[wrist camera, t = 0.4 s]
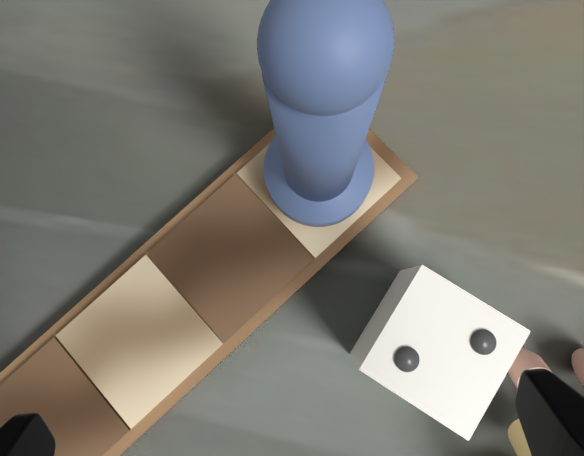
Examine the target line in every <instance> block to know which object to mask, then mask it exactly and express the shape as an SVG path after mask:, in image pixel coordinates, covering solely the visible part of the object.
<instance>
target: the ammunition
mask: <svg viewBox="0 0 584 456" xmlns="http://www.w3.org/2000/svg"><path fill="white" fill-rule="evenodd" d="M571 361H572V366H573V369H574V372H575V374H576V376H577V378H578V379H579V381H580V382H581V384H582V385H583V386H584V349H583V348H580V349H577V350H575V351H574V352H573V354H572V358H571ZM540 368H543V369H547V370H549V371H551V370H550V369H549V367H548V366H547V365H546V364H545V362H544V361H543V360H542V358H541V357H540V356H539V355H537V354H535V353H533V352H531V351H529V350H527V349H525V348H523V347H522V348H521V350H520V351H519V353H518V355H517V357H516V359H515V360H514V362H513V364H512V366H511V367H510V369H509V371H508V374H509V376H510V377H511V379H512V381H513V382H514V384H515V386H516V387H518V383H519V379H520V375H521V373H522V372H523V371H524V370H528V369H540ZM551 372H552V371H551ZM508 438H509V440H510V442H511V444H512V446H513V449H514V451H515V453H516V455H517V456H532V455H531V452H530V450H529V447H528V444H527V441H526V438H525V435H524V432H523V429H522V426H521V423H520V420H519V419H517V420H515V421H514V422H513V423H512V424H511V425H510V427H509V429H508Z"/></svg>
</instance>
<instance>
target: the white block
mask: <svg viewBox="0 0 584 456" xmlns="http://www.w3.org/2000/svg"><path fill="white" fill-rule="evenodd" d="M530 332H531V331H530V330H528V329H527V328H525V327H523V326H522V325H520V324H518V323H517V322H515V321H514V320H512V319H510V318H509V317H507V316H505V315H504V314H502V313H500V312H499V311H497V310H496V309H494V308H492V307H491V306H489V305H487V304H486V303H484V302H482V301H481V300H479V299H478V298H476V297H474V296H473V295H471V294H469V293H468V292H466V291H464V290H463V289H461V288H460V287H458V286H456V285H455V284H453V283H451V282H450V281H448V280H446V279H445V278H443V277H442V276H440V275H438V274H437V273H435V272H433V271H432V270H430V269H428V268H427V267H425V266H424V265H419V266H415V267H411V268H407V269H403V270H400V271H399V273H398V275H397V276H396V278H395V280H394V281H393V283H392V284H391V286H390V288H389V289H388V291H387V293H386V294H385V296H384V298H383V299H382V301H381V303H380V304H379V306H378V308H377V309H376V311H375V313H374V314H373V316H372V317H371V319H370V321H369V322H368V324H367V326H366V327H365V329H364V331H363V332H362V334H361V336H360V337H359V339H358V341H357V342H356V344H355V346H354V347H353V349H352V350H351V352H350V356H351V358H352V359H353V361H354V363H355V364H356V366H357V367H358V369H359V370H360V371H362V372H363V373H365V374H366V375H368V376H369V377H371V378H372V379H374V380H375V381H377V382H379V383H380V384H382V385H383V386H385V387H386V388H388V389H389V390H391V391H392V392H394V393H395V394H397V395H399V396H400V397H402V398H403V399H405V400H406V401H408V402H409V403H411V404H412V405H414V406H415V407H417V408H419V409H420V410H422V411H423V412H425V413H426V414H428V415H429V416H431V417H432V418H434V419H435V420H437V421H439V422H440V423H442V424H443V425H445V426H446V427H448V428H449V429H451V430H452V431H454V432H455V433H457V434H458V435H460V436H462V437H463V438H465V439H466V440H468V441H469V440H470V438H471V436H472V434H473V433H474V431H475V429H476V427H477V426H478V424H479V422H480V420H481V419H482V417H483V415H484V413H485V411H486V410H487V408H488V406H489V404H490V403H491V401H492V399H493V397H494V396H495V394H496V392H497V390H498V389H499V387H500V385H501V383H502V381H503V380H504V378H505V376H506V374H507V373H508V371H509V369H510V367H511V366H512V364H513V362H514V360H515V359H516V357H517V355H518V353H519V351H520V350H521V348H522V346H523V344H524V343H525V341H526V339H527V337H528V336H529V334H530Z"/></svg>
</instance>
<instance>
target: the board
mask: <svg viewBox="0 0 584 456" xmlns="http://www.w3.org/2000/svg"><path fill="white" fill-rule="evenodd" d="M275 135H276V134H275V130H274V128H273V129H272V130H271V131H269V132H268V133H267V134H266V135H265V136H264V137H263V138H262V139H261V140H259V141H258V142H257V143H256V144H255V145H254V146H253V147H252V148H250V149H249V150H248V151H247V152H246V153H245V154H244V155H243V156H242V157H240V158H239V159H238V160H237V161H236V162H235V163H234V164H233V165H232V166H230V167H229V168H228V169H227V170H226V171H225V172H224V173H223V174H221V175H220V176H219V177H218V178H217V179H216V180H215V181H214V182H213V183H211V184H210V185H209V186H208V187H207V188H206V189H205V190H204V191H202V192H201V193H200V194H199V195H198V196H197V197H196V198H195V199H194V200H192V201H191V202H190V203H189V204H188V205H187V206H186V207H185V208H184V209H182V210H181V211H180V212H179V213H178V214H177V215H176V216H175V217H173V218H172V219H171V220H170V221H169V222H168V223H167V224H166V225H165V226H163V227H162V228H161V229H160V230H159V231H158V232H157V233H156V234H154V235H153V236H152V237H151V238H150V239H149V240H148V241H147V242H146V243H144V244H143V245H142V246H141V247H140V248H139V249H138V250H137V251H136V252H134V253H133V254H132V255H131V256H130V257H129V258H128V259H127V260H125V261H124V262H123V263H122V264H121V265H120V266H119V267H118V268H117V269H115V270H114V271H113V272H112V273H111V274H110V275H109V276H108V277H106V278H105V279H104V280H103V281H102V282H101V283H100V284H99V285H98V286H96V287H95V288H94V289H93V290H92V291H91V292H90V293H89V294H88V295H86V296H85V297H84V298H83V299H82V300H81V301H80V302H79V303H77V304H76V305H75V306H74V307H73V308H72V309H71V310H70V311H69V312H67V313H66V314H65V315H64V316H63V317H62V318H61V319H60V320H59V321H57V322H56V323H55V324H54V325H53V326H52V327H51V328H50V329H48V330H47V331H46V332H45V333H44V334H43V335H42V336H41V337H40V338H38V339H37V340H36V341H35V342H34V343H33V344H32V345H31V346H29V347H28V348H27V349H26V350H25V351H24V352H23V353H22V354H21V355H19V356H18V357H17V358H16V359H15V360H14V361H13V362H12V363H11V364H9V365H8V366H7V367H6V368H5V369H4V370H3V371H2V372H0V428H1V427H2V426H3V425H4V424H5V423H6V422H7V421H8V420H9V419H10V418H12V417H13V416H15V415H18V414H25V413H38V414H40V415H41V416H42V418H43V420H44V421H45V423H46V424H47V426H48V428H49V429H50V431H51V433H52V434H53V436H54V438H55V444H56V447H55V454H54V456H120V455H121V454H122V453H123V452H124V451H125V450H126V449H128V448H129V447H130V446H131V445H132V444H133V443H134V442H135V441H136V440H137V439H138V438H139V437H140V436H142V435H143V434H144V433H145V432H146V431H147V430H148V429H149V428H150V427H151V426H152V425H153V424H154V423H156V422H157V421H158V420H159V419H160V418H161V417H162V416H163V415H164V414H165V413H166V412H167V411H168V410H170V409H171V408H172V407H173V406H174V405H175V404H176V403H177V402H178V401H179V400H180V399H181V398H182V397H183V396H185V395H186V394H187V393H188V392H189V391H190V390H191V389H192V388H193V387H194V386H195V385H196V384H197V383H199V382H200V381H201V380H202V379H203V378H204V377H205V376H206V375H207V374H208V373H209V372H210V371H211V370H213V369H214V368H215V367H216V366H217V365H218V364H219V363H220V362H221V361H222V360H223V359H224V358H225V357H227V356H228V355H229V354H230V353H231V352H232V351H233V350H234V349H235V348H236V347H237V346H238V345H239V344H241V343H242V342H243V341H244V340H245V339H246V338H247V337H248V336H249V335H250V334H251V333H252V332H253V331H254V330H256V329H257V328H258V327H259V326H260V325H261V324H262V323H263V322H264V321H265V320H266V319H267V318H268V317H270V316H271V315H272V314H273V313H274V312H275V311H276V310H277V309H278V308H279V307H280V306H281V305H282V304H284V303H285V302H286V301H287V300H288V299H289V298H290V297H291V296H292V295H293V294H294V293H295V292H296V291H298V290H299V289H300V288H301V287H302V286H303V285H304V284H305V283H306V282H307V281H308V280H309V279H310V278H312V277H313V276H314V275H315V274H316V273H317V272H318V271H319V270H320V269H321V268H322V267H323V266H324V265H325V264H327V263H328V262H329V261H330V260H331V259H332V258H333V257H334V256H335V255H336V254H337V253H338V252H339V251H341V250H342V249H343V248H344V247H345V246H346V245H347V244H348V243H349V242H350V241H351V240H352V239H353V238H355V237H356V236H357V235H358V234H359V233H360V232H361V231H362V230H363V229H364V228H365V227H366V226H367V225H369V224H370V223H371V222H372V221H373V220H374V219H375V218H376V217H377V216H378V215H379V214H380V213H381V212H382V211H384V210H385V209H386V208H387V207H388V206H389V205H390V204H391V203H392V202H393V201H394V200H395V199H396V198H398V197H399V196H400V195H401V194H402V193H403V192H404V191H405V190H406V189H407V188H408V187H409V186H410V185H412V184H413V183H414V182H415V181H416V180H417V179H418V177H417V176H416V175H415V174H414V173H413V172H412V171H411V170H410V169H409V168H408V167H407V166H406V165H405V164H404V163H403V162H402V161H401V160H400V159H399V158H398V157H397V156H396V155H395V154H394V153H393V152H392V151H391V150H390V149H389V148H388V147H387V146H386V145H385V144H384V143H383V142H382V141H381V140H380V139H379V138H378V137H377V136H376V135H375V134H374V133H373V132H372V131H371V130H370V129H369V130H368V132H367V135H366V138H365V139H366V141H367V142H368V144H369V146H370V149H371V152H372V155H373V159H374V178H373V182H372V185H371V188H370V191H369V192H368V194H367V196H366V198H365V200H364V202H363V203H362V205H361V206H360V207H359V209H358V210H357V211H356V212H355V213H354V214H352V215H351V216H350V217H349V218H347V219H345V220H344V221H342V222H340V223H337V224H334V225H331V226H325V227H311V226H306V225H302V224H300V223H297V222H295V221H293V220H291V219H290V218H288V217H287V216H285V215H284V214H283V213H282V212H281V211H280V210H279V209H278V207H277V206H276V205H275V203H274V202H273V200H272V198H271V196H270V193H269V191H268V189H267V186H266V183H265V179H264V159H265V155H266V151H267V149H268V146H269V145H270V143H271V141H272V139H273V138H274V137H275Z"/></svg>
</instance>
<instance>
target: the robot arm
mask: <svg viewBox="0 0 584 456" xmlns="http://www.w3.org/2000/svg"><path fill="white" fill-rule="evenodd" d="M515 407H516V411H517V415H518V417H519V420H520V423H521V426H522V429H523V432H524V435H525V438H526V441H527V444H528V447H529V450H530V452H531V455H532V456H584V397H583V396H582V395H581V394H579V393H578V392H577V391H575V390H574V389H573V388H571V387H570V386H569V385H568V384H566V383H565V382H564V381H562V380H561V379H560V378H559V377H557V376H556V375H555V374H553V373H552V372H551V371H549V370H547V369H543V368H540V369H528V370H524V371H523V372H522V373H521V375H520V379H519V383H518V387H517V392H516V396H515ZM55 447H56V444H55V438H54V436H53V434H52V433H51V431H50V429H49V428H48V426H47V424H46V423H45V421H44V420H43V418H42V416H41V415H40V414H38V413H25V414H18V415H15V416H13V417H12V418H10V419H9V420H8V421H7V422H6V423H5V424H4V425H3V426H2V427H1V428H0V456H54V454H55Z"/></svg>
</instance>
